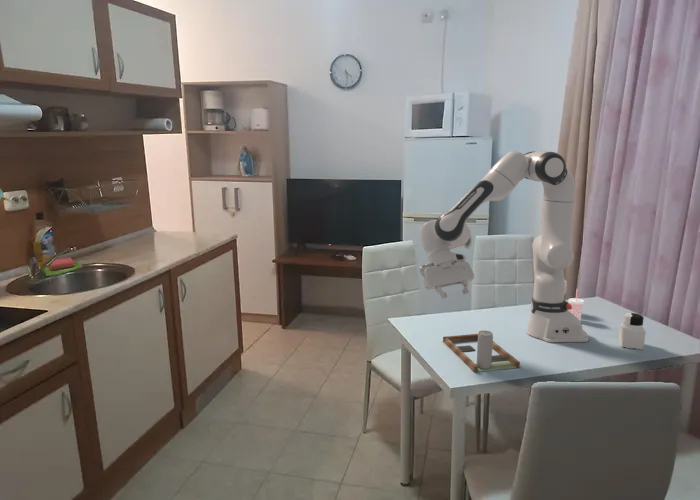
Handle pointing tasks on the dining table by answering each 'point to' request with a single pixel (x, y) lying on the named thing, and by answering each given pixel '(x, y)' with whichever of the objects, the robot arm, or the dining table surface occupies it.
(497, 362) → the box
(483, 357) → the beverage can
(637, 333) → the medicine bottle
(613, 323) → the dining table surface
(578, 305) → the beverage cup
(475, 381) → the dining table surface
